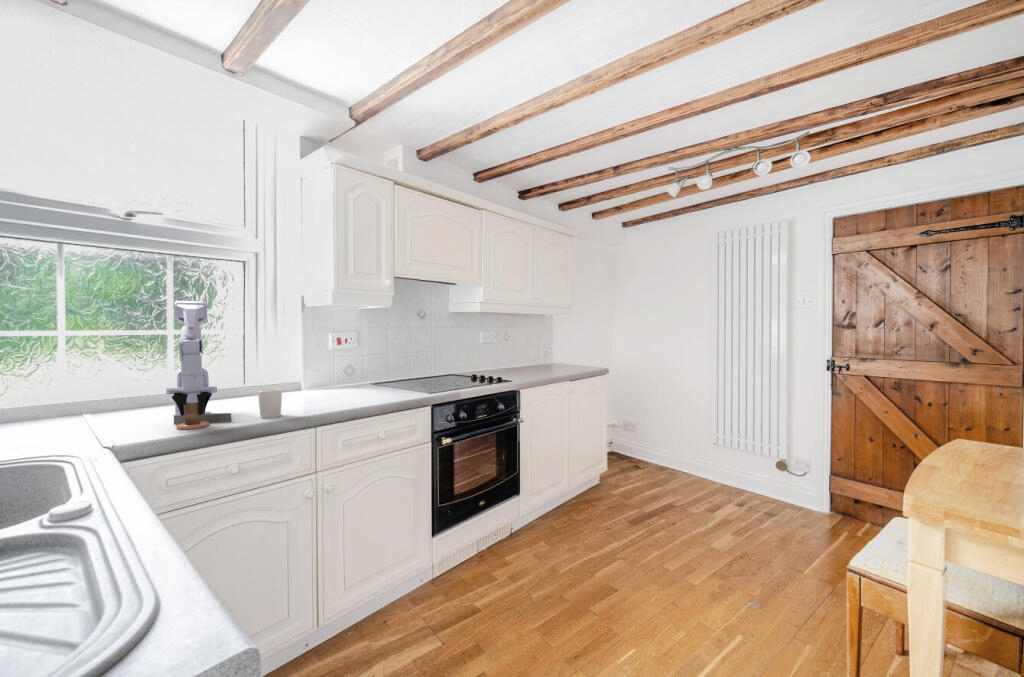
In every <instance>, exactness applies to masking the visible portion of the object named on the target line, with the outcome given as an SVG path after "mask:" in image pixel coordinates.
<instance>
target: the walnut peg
mask: <svg viewBox="0 0 1024 677" xmlns="http://www.w3.org/2000/svg"><path fill="white" fill-rule="evenodd" d="M184 419H185V425H195V424H199V423H201V417H200V415H199V403H198V402H188V403H184Z"/></svg>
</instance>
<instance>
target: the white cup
mask: <svg viewBox="0 0 1024 677" xmlns="http://www.w3.org/2000/svg"><path fill="white" fill-rule="evenodd" d="M257 395H258V406H259V407H258V408H259V415H260V416H259V417H260V418H261V419H272V418H278V417H281V415H282V399H283V398H282V397H283V389H282V388H264V389H260V390H258V391H257Z"/></svg>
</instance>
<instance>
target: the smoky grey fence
mask: <svg viewBox="0 0 1024 677" xmlns="http://www.w3.org/2000/svg"><path fill="white" fill-rule="evenodd" d="M173 415H174V416H173V425H178V424H181V423H185V419H184V415H183V416H181V415H175V414H173ZM200 417H201V421H208V422H209V424H211V423H212V424H213V423H231V422H232V412H227V413H226V412H224V413H223V412H220V413H208V414H202V415H200Z"/></svg>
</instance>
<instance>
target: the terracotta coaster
mask: <svg viewBox="0 0 1024 677" xmlns="http://www.w3.org/2000/svg"><path fill="white" fill-rule="evenodd" d="M175 425H176V430H180V431H181V430H182V431H187V430H188V431H189V430H196V429H203V428H206V427H208V426H210V423H209V422H208V421H201V423H199V424H195V425H185V423H181V424H175Z"/></svg>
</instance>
